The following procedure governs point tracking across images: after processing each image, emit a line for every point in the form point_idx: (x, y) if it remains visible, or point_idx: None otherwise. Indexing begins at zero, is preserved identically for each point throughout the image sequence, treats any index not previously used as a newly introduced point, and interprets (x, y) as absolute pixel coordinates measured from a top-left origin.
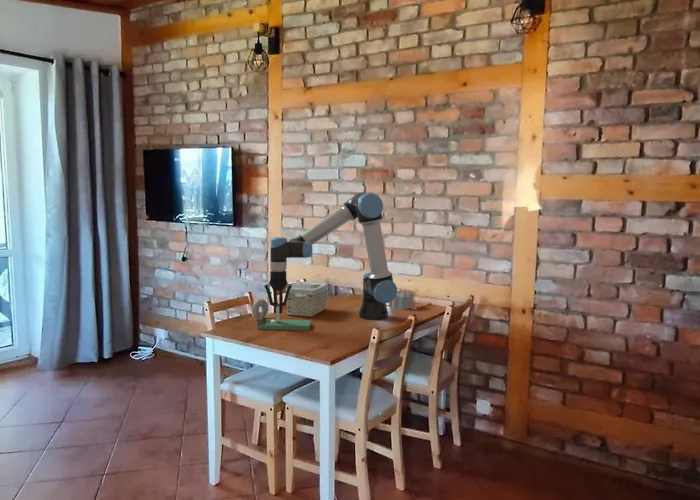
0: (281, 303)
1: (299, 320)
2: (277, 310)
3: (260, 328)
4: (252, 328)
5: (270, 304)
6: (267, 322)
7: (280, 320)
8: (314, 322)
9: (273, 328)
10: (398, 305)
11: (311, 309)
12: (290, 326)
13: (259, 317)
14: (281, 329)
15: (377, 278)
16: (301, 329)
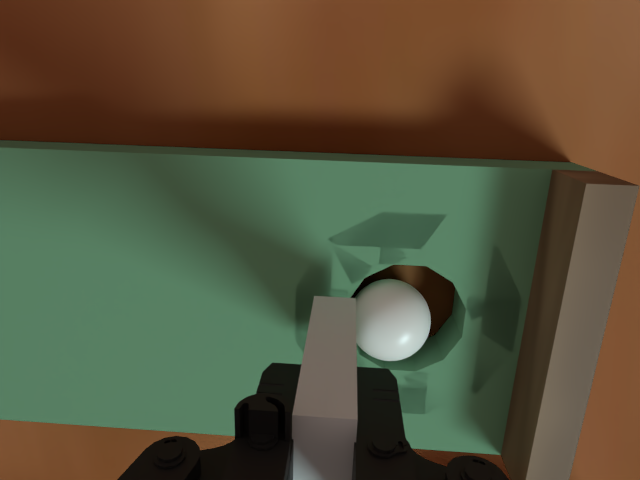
0: (229, 472)
1: (103, 406)
2: (330, 373)
3: (536, 161)
4: None
5: (488, 469)
6: (461, 330)
7: None
8: (2, 457)
9: (375, 155)
10: None
11: None
12: (160, 151)
13: (597, 325)
14: (279, 152)
15: None
16: (46, 143)
